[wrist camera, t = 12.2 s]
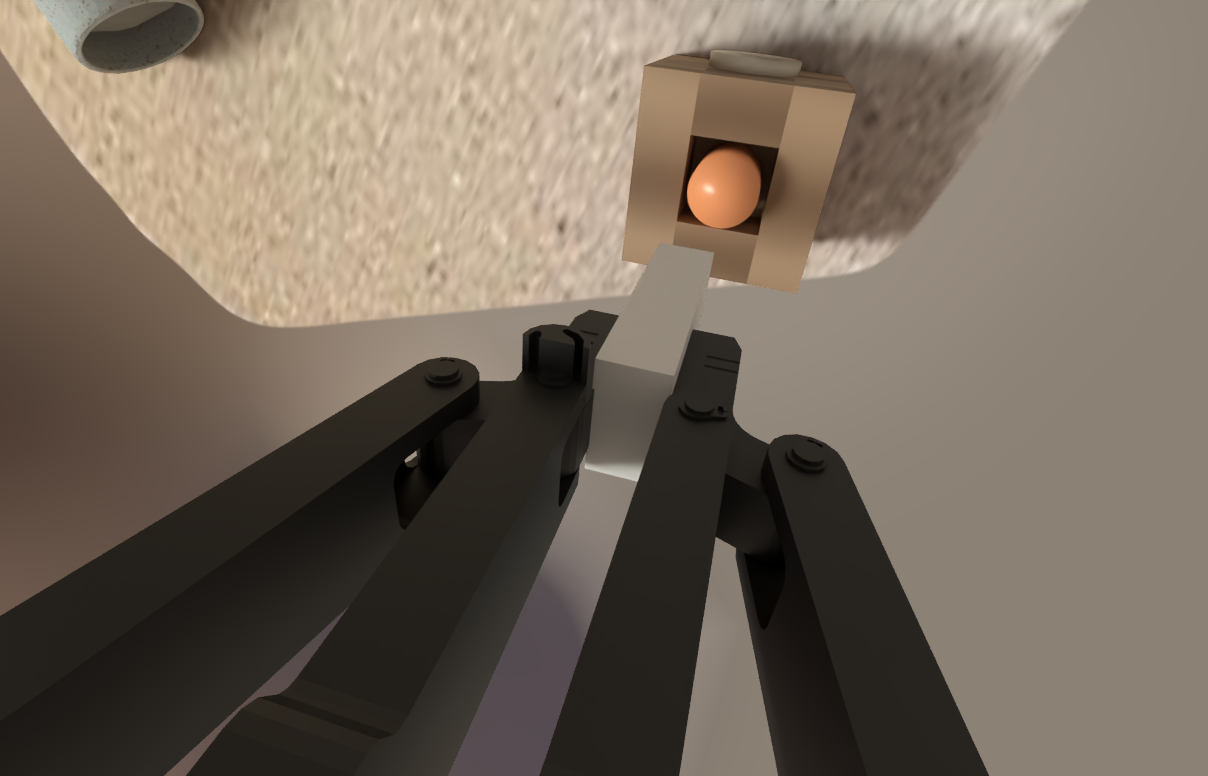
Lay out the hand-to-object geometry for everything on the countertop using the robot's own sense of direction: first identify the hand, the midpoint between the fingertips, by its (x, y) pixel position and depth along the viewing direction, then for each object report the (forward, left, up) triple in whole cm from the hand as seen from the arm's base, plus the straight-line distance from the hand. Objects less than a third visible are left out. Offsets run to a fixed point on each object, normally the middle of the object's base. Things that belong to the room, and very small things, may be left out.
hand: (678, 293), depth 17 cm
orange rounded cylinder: (0, 0, -16) cm, 16 cm away
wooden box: (0, 0, -21) cm, 21 cm away
